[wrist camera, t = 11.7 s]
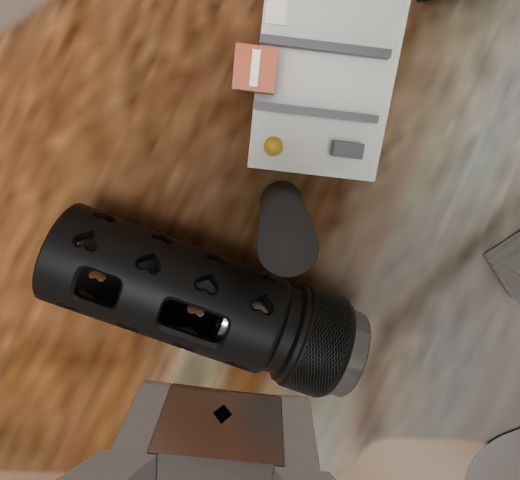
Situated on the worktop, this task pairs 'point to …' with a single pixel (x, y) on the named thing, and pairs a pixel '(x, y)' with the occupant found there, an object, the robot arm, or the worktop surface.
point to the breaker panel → (327, 86)
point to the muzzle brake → (202, 302)
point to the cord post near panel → (285, 232)
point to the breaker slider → (255, 68)
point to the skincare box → (507, 264)
